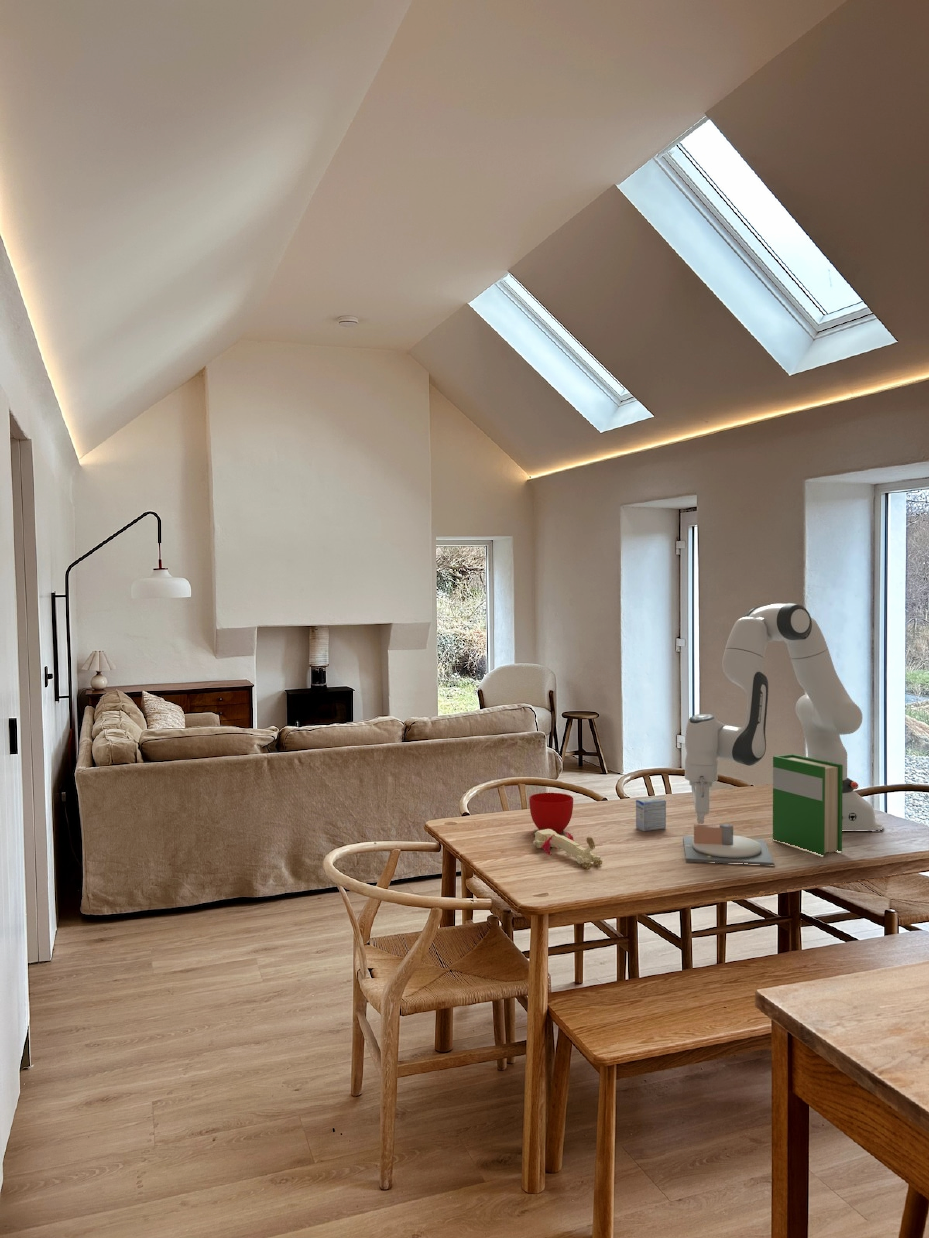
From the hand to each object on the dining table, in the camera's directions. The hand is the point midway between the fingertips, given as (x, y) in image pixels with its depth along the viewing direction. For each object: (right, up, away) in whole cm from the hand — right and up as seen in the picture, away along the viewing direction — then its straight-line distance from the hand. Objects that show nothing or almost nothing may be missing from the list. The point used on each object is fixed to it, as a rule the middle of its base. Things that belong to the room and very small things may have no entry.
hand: (700, 822), depth 255 cm
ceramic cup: (-40, -6, +17) cm, 44 cm away
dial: (+5, -5, -7) cm, 10 cm away
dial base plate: (+5, -6, -7) cm, 11 cm away
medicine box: (-10, -6, +17) cm, 21 cm away
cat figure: (-39, -7, -9) cm, 41 cm away
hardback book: (+28, -6, -3) cm, 29 cm away
